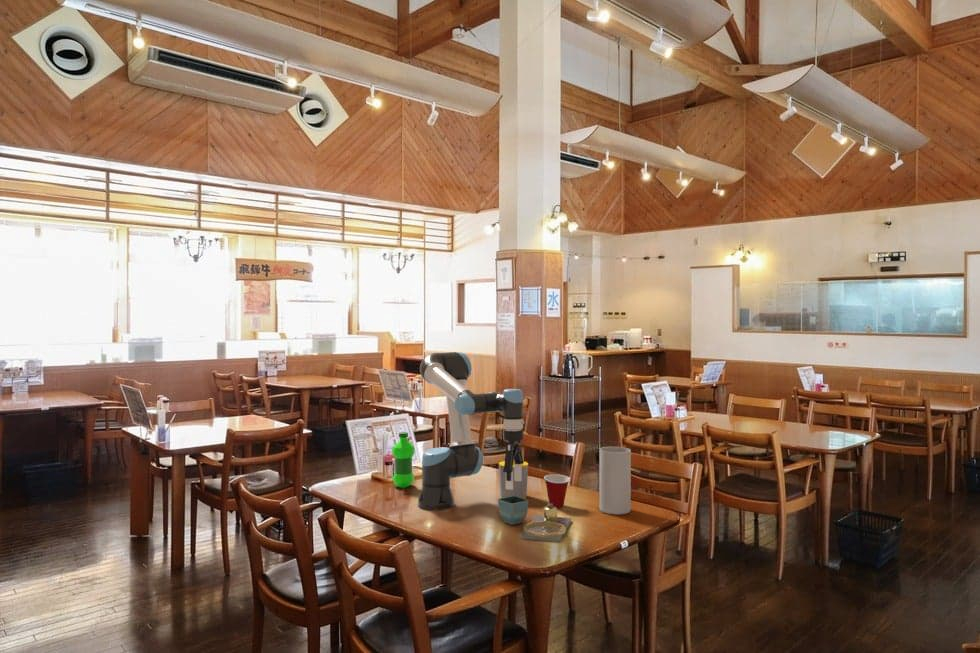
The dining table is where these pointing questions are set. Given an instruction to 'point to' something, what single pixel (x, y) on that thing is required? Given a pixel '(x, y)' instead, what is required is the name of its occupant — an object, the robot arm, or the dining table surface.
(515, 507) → the flower pot
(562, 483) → the plastic cup
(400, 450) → the plastic bottle
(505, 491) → the soap bottle
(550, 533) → the board
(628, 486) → the cylinder vase
